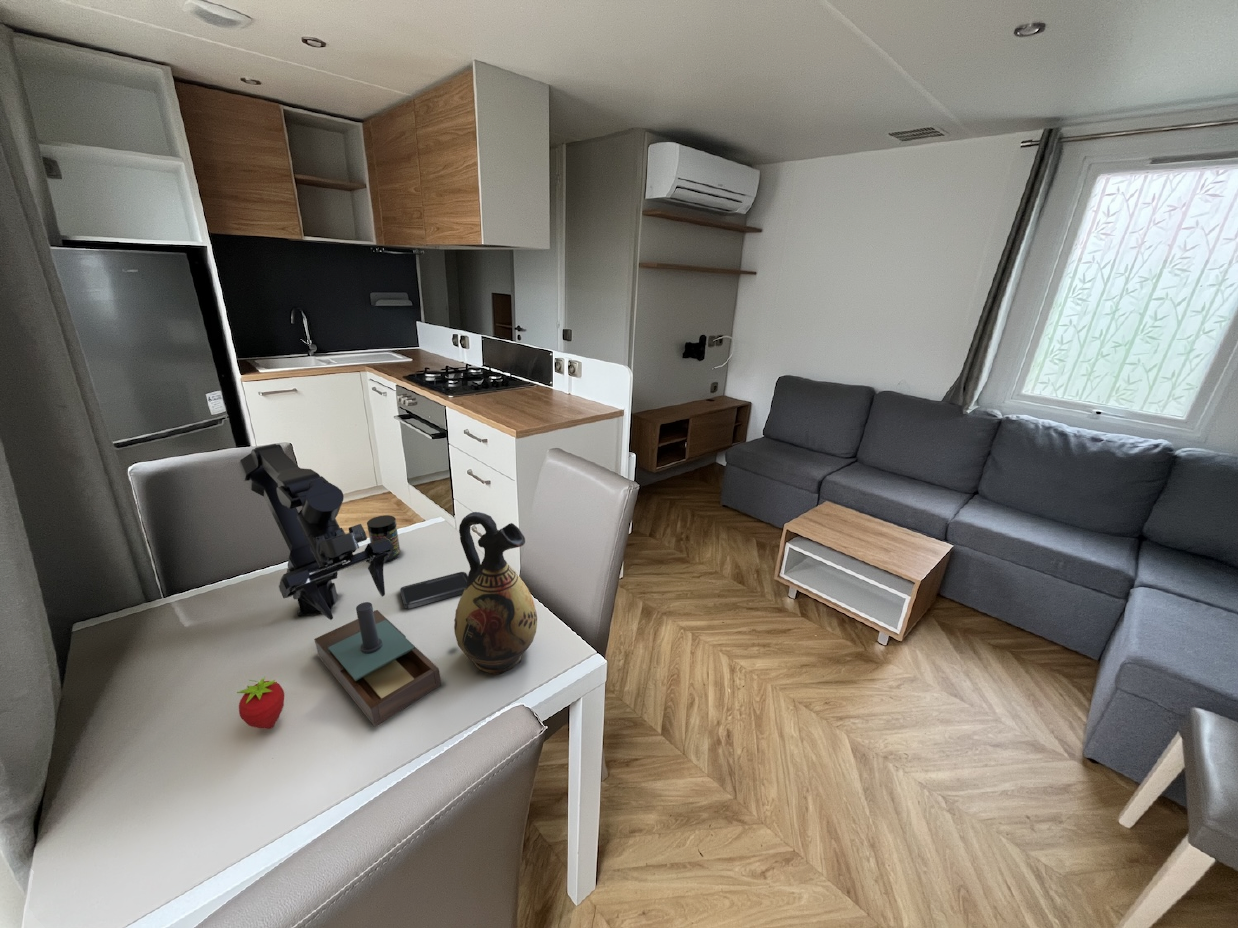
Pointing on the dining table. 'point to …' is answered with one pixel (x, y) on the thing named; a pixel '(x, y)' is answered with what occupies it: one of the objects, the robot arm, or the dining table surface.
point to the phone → (433, 590)
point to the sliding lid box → (381, 676)
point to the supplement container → (385, 533)
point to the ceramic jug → (493, 600)
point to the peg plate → (370, 645)
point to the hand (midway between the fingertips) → (358, 606)
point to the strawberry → (261, 704)
